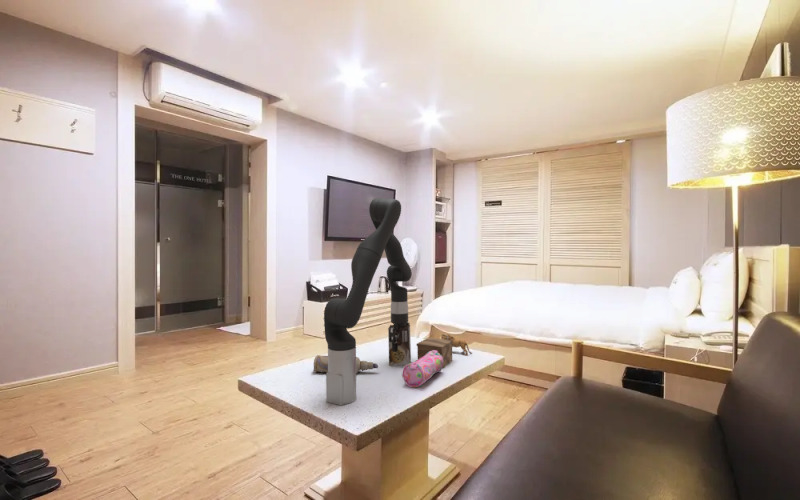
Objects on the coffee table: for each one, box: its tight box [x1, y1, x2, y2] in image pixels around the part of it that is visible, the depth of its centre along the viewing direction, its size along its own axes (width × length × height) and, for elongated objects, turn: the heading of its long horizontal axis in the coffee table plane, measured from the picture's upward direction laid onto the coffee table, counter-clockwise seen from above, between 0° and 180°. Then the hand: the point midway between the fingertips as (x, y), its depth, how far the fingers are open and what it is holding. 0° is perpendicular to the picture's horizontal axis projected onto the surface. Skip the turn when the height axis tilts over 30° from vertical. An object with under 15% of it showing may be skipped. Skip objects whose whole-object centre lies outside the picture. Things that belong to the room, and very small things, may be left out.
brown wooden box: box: [416, 336, 453, 369], centre depth 160 cm, size 13×12×9 cm
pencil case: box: [401, 350, 444, 388], centre depth 141 cm, size 21×9×9 cm, turn 151°
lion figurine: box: [440, 333, 473, 357], centre depth 174 cm, size 15×5×9 cm, turn 70°
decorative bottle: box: [313, 354, 379, 375], centre depth 149 cm, size 26×8×7 cm, turn 82°
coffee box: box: [387, 324, 412, 367], centre depth 160 cm, size 9×6×16 cm
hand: (399, 349), depth 160 cm, fingers open, 8 cm apart
